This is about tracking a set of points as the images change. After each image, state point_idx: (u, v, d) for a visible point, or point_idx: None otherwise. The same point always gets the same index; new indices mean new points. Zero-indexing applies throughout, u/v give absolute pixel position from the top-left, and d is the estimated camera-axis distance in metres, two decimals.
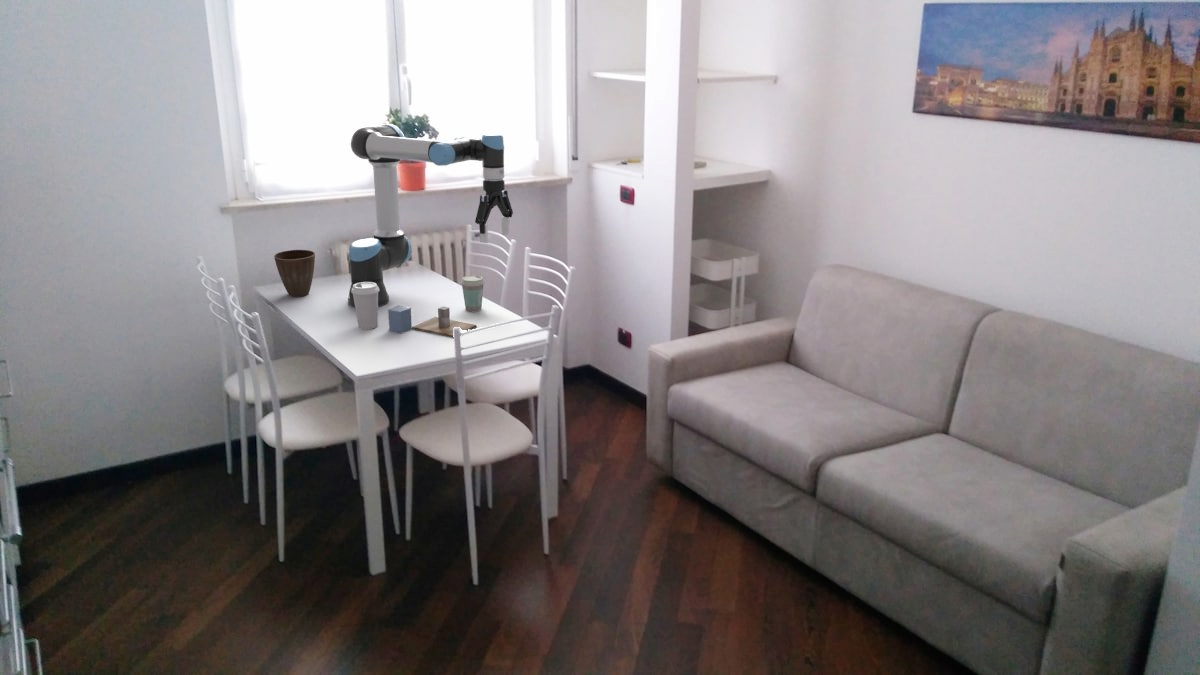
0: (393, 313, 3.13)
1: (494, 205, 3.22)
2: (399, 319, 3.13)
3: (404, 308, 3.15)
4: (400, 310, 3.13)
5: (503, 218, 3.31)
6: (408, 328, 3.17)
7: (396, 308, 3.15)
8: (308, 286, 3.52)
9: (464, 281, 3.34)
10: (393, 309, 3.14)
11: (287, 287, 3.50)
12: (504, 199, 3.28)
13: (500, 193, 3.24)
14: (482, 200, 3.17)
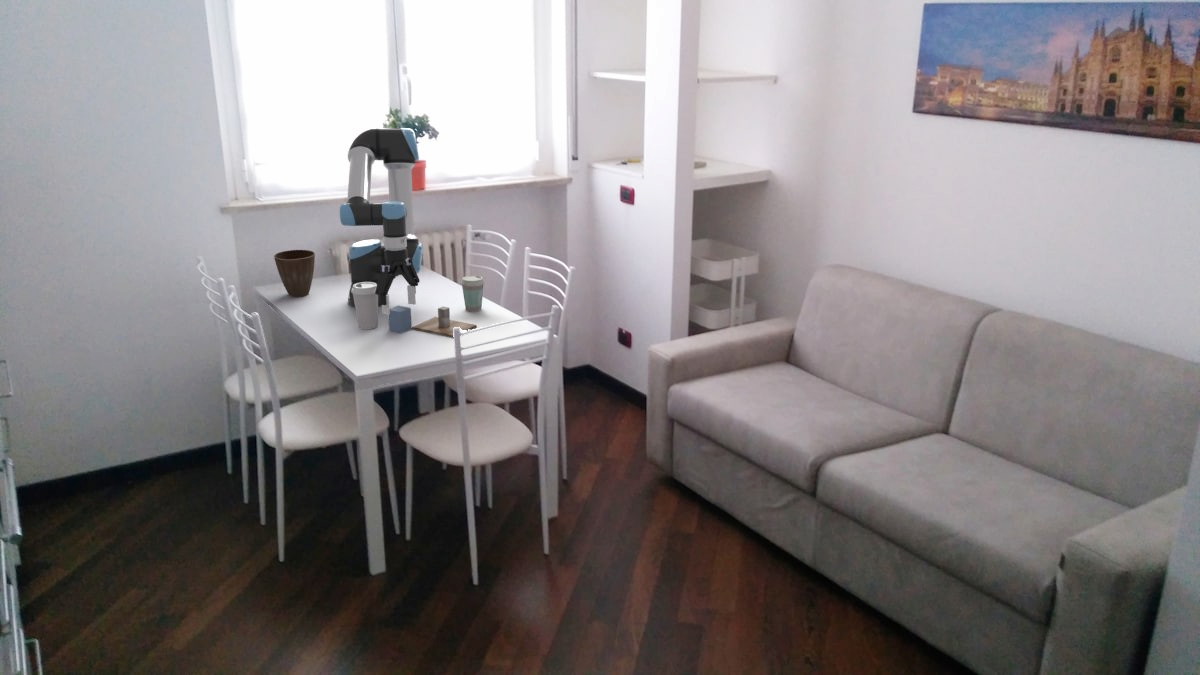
0: (393, 313, 3.13)
1: (397, 275, 3.09)
2: (399, 319, 3.13)
3: (404, 308, 3.15)
4: (400, 310, 3.13)
5: (409, 287, 3.18)
6: (408, 328, 3.17)
7: (396, 308, 3.15)
8: (308, 286, 3.52)
9: (464, 281, 3.34)
10: (393, 309, 3.14)
11: (287, 287, 3.50)
12: (409, 267, 3.16)
13: (403, 262, 3.11)
14: (382, 270, 3.04)
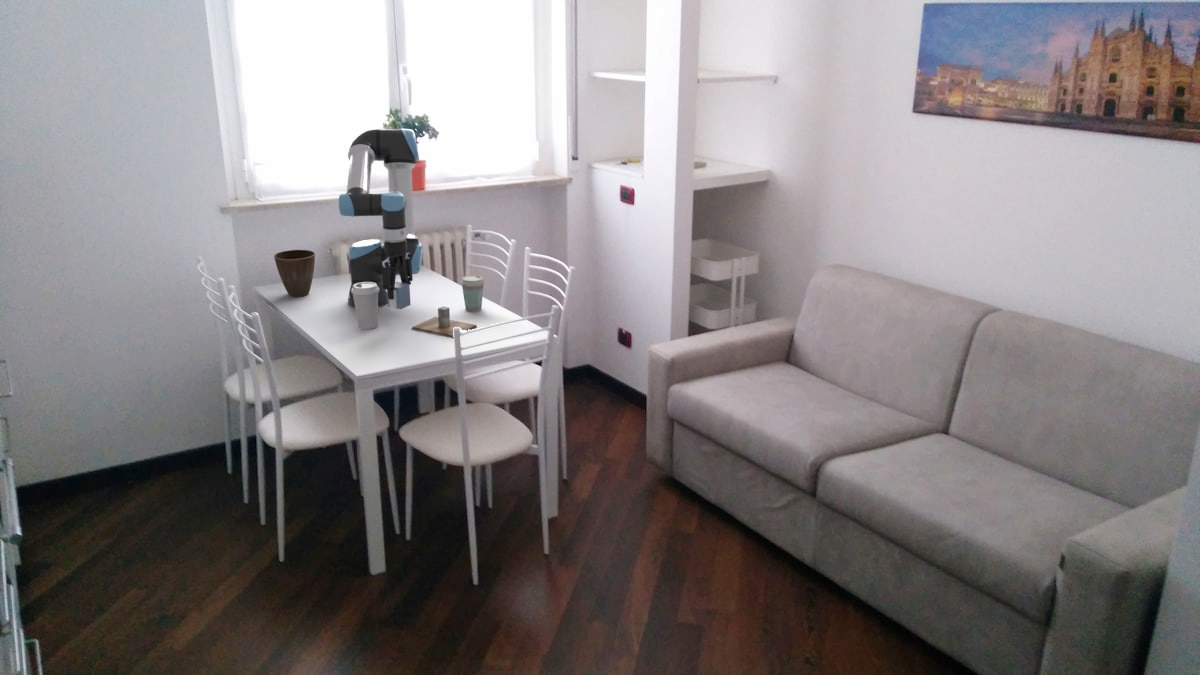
0: None
1: None
2: (398, 295, 3.10)
3: (403, 284, 3.13)
4: (399, 286, 3.11)
5: None
6: (407, 304, 3.15)
7: None
8: (308, 286, 3.52)
9: (464, 281, 3.34)
10: None
11: (287, 287, 3.50)
12: (406, 262, 3.14)
13: (403, 252, 3.10)
14: (384, 266, 3.05)
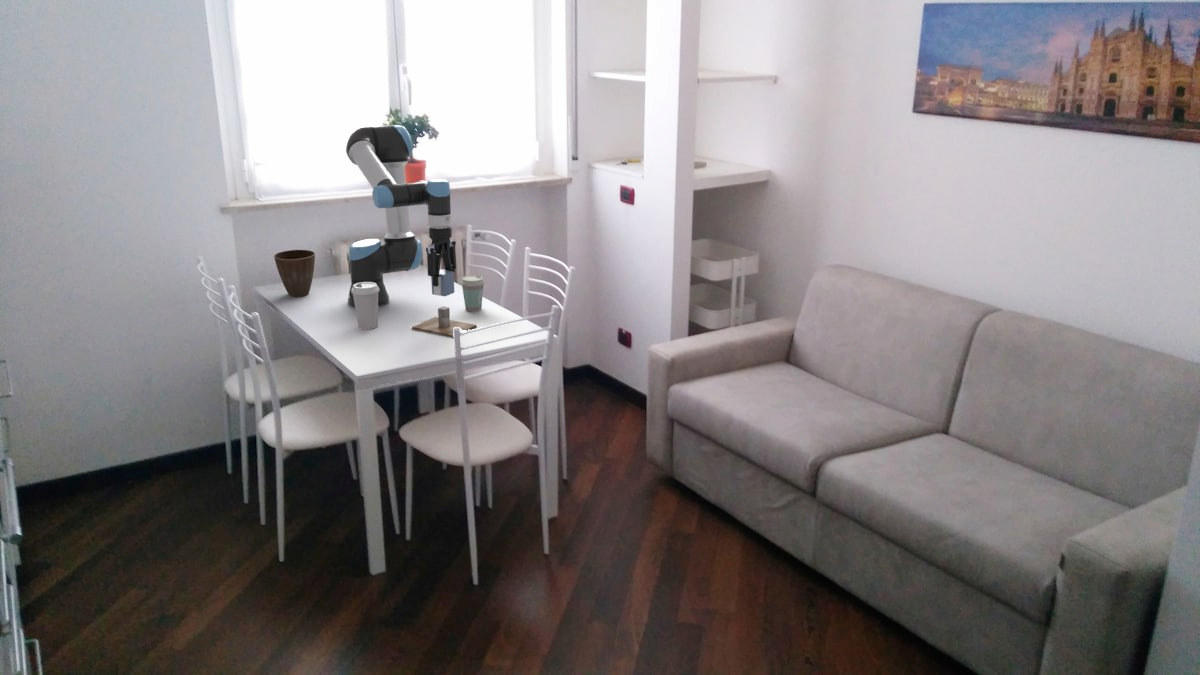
0: None
1: None
2: (442, 282, 3.11)
3: (447, 271, 3.13)
4: (443, 273, 3.11)
5: None
6: (451, 292, 3.15)
7: (439, 272, 3.13)
8: (308, 286, 3.52)
9: (464, 281, 3.34)
10: None
11: (287, 287, 3.50)
12: (450, 250, 3.15)
13: (448, 240, 3.11)
14: (429, 253, 3.05)
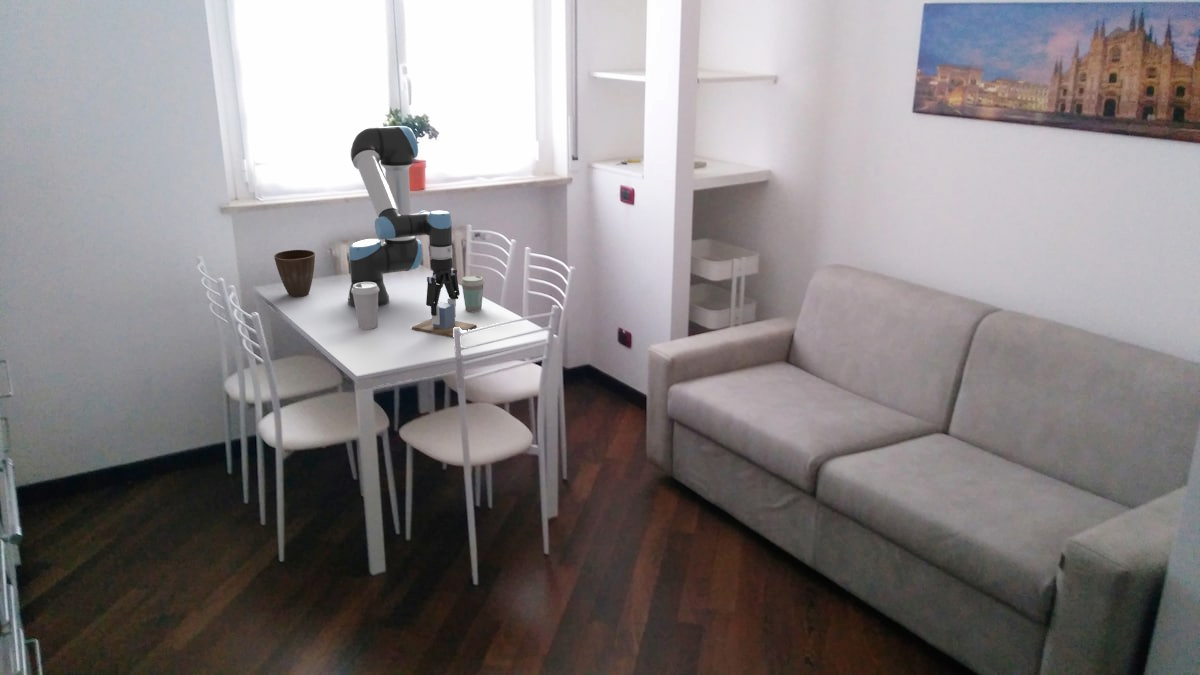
0: None
1: (442, 283, 3.13)
2: (443, 315, 3.15)
3: (448, 304, 3.17)
4: (444, 306, 3.15)
5: (449, 300, 3.21)
6: (452, 324, 3.19)
7: (440, 305, 3.17)
8: (308, 286, 3.52)
9: (464, 281, 3.34)
10: (437, 305, 3.16)
11: (287, 287, 3.50)
12: (452, 278, 3.19)
13: (449, 270, 3.15)
14: (430, 282, 3.08)
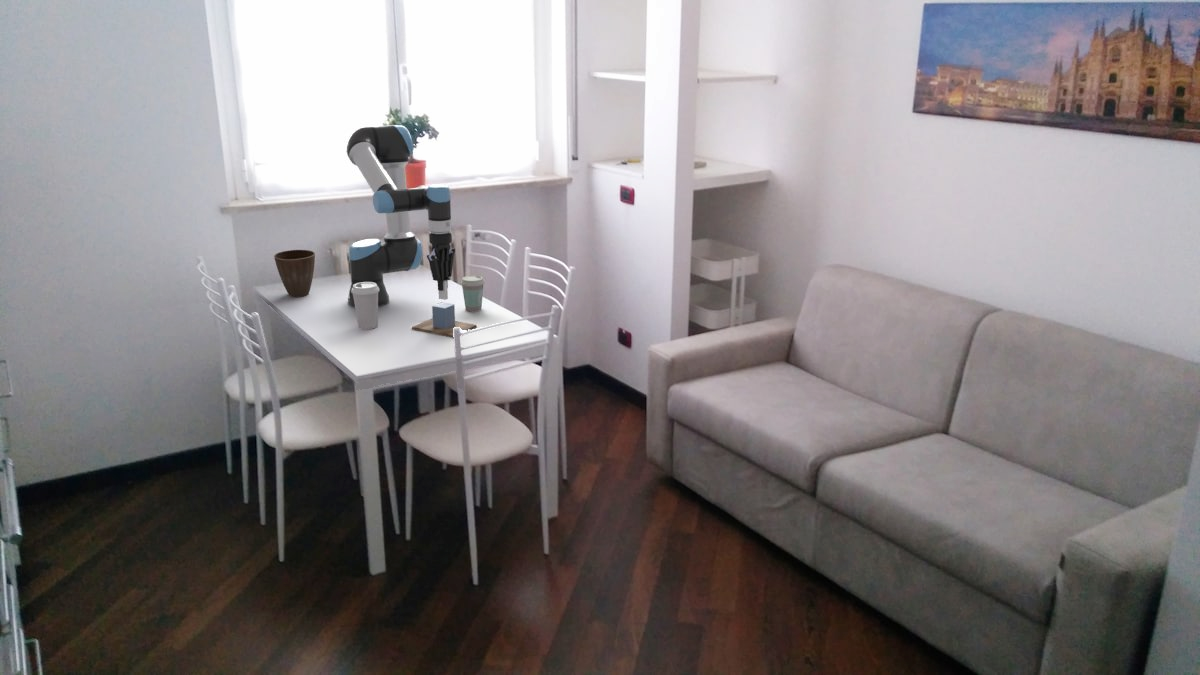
0: (438, 310, 3.15)
1: None
2: (443, 315, 3.15)
3: (448, 304, 3.17)
4: (444, 306, 3.15)
5: None
6: (452, 324, 3.19)
7: (440, 305, 3.17)
8: (308, 286, 3.52)
9: (464, 281, 3.34)
10: (437, 305, 3.16)
11: (287, 287, 3.50)
12: (449, 257, 3.15)
13: (448, 244, 3.12)
14: (430, 260, 3.07)
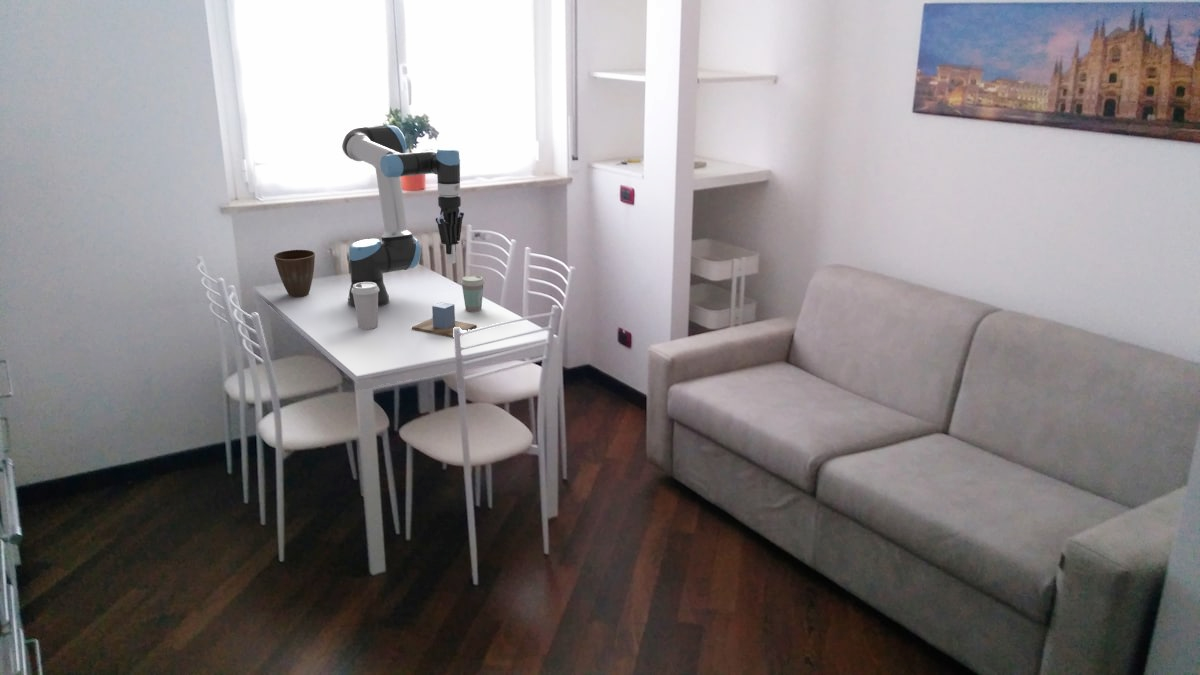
0: (438, 310, 3.15)
1: None
2: (443, 315, 3.15)
3: (448, 304, 3.17)
4: (444, 306, 3.15)
5: None
6: (452, 324, 3.19)
7: (440, 305, 3.17)
8: (308, 286, 3.52)
9: (464, 281, 3.34)
10: (437, 305, 3.16)
11: (287, 287, 3.50)
12: (457, 221, 3.16)
13: (457, 208, 3.13)
14: (439, 223, 3.08)
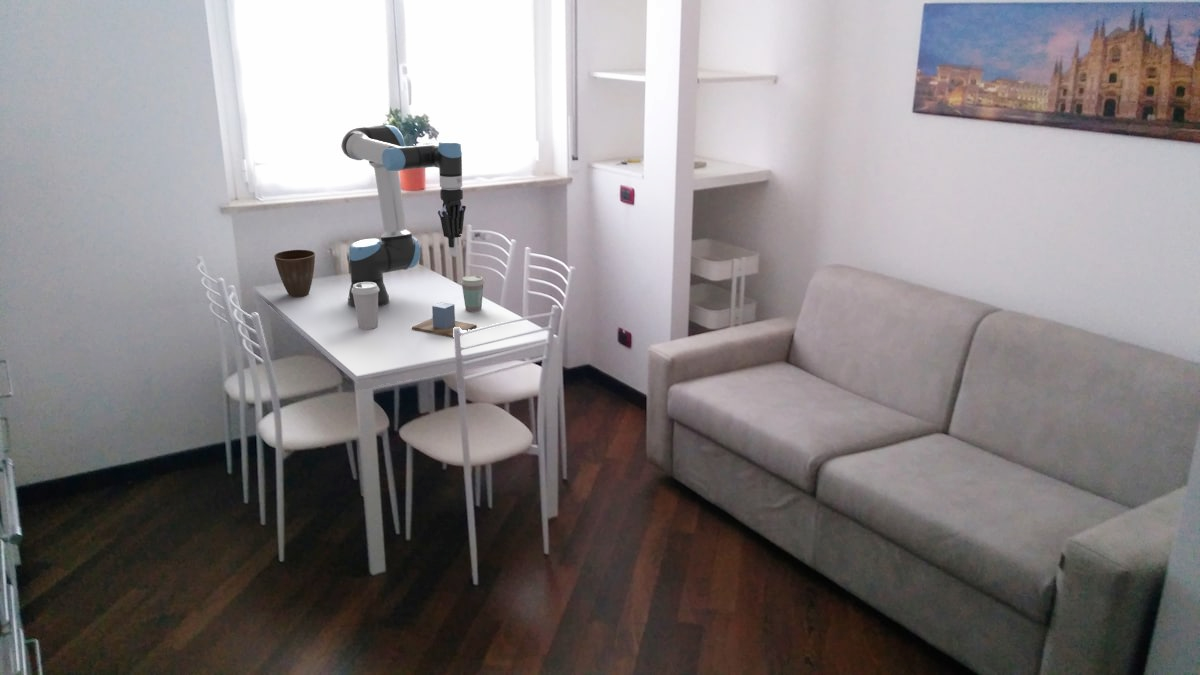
0: (438, 310, 3.15)
1: None
2: (443, 315, 3.15)
3: (448, 304, 3.17)
4: (444, 306, 3.15)
5: None
6: (452, 324, 3.19)
7: (440, 305, 3.17)
8: (308, 286, 3.52)
9: (464, 281, 3.34)
10: (437, 305, 3.16)
11: (287, 287, 3.50)
12: (459, 214, 3.16)
13: (459, 201, 3.13)
14: (442, 216, 3.08)
